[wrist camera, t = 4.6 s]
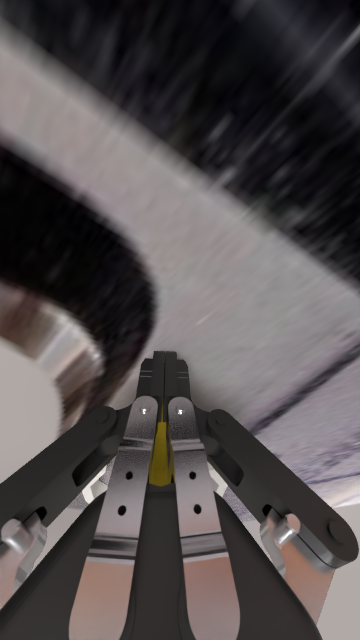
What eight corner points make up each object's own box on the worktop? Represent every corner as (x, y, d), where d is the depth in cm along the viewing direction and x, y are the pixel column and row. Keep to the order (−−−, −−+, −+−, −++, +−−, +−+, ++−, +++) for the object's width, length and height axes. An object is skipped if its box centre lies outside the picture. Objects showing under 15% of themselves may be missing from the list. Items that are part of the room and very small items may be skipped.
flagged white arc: (230, 448, 24) (311, 801, 10) (210, 498, 31) (242, 743, 17) (47, 448, 22) (-147, 863, 9) (71, 500, 29) (-13, 770, 16)
